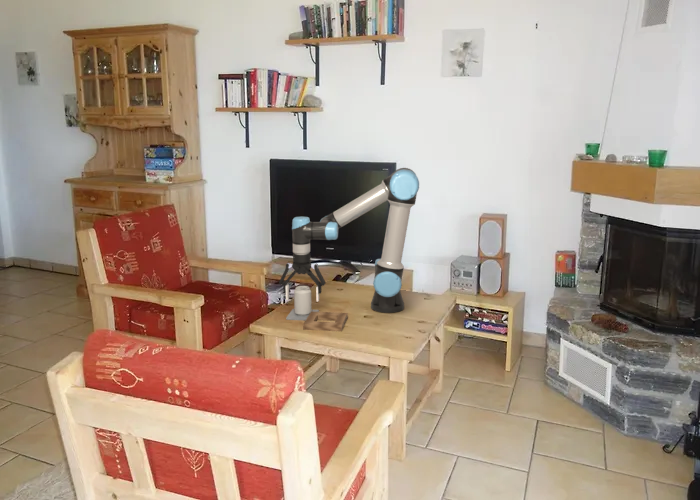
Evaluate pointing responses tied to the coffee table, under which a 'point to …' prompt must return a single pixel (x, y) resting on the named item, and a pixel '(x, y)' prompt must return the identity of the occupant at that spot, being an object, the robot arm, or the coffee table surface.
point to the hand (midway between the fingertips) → (302, 300)
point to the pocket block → (325, 326)
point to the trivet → (294, 316)
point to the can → (302, 300)
